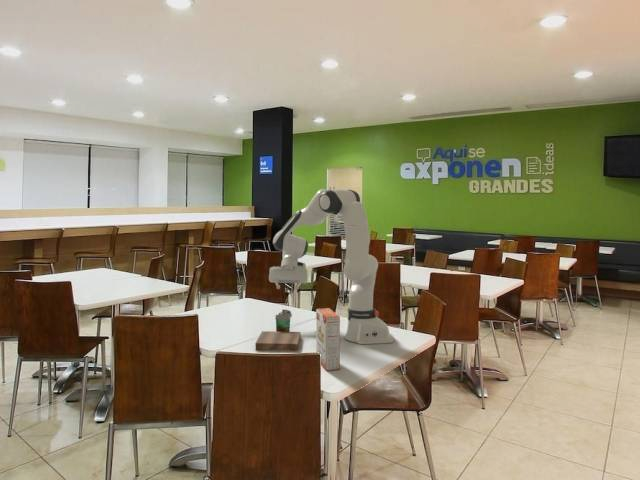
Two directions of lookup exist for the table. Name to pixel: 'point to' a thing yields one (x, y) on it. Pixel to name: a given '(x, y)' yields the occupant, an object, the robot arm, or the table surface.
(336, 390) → the table surface
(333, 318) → the cracker box
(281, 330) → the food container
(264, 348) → the walnut stand
